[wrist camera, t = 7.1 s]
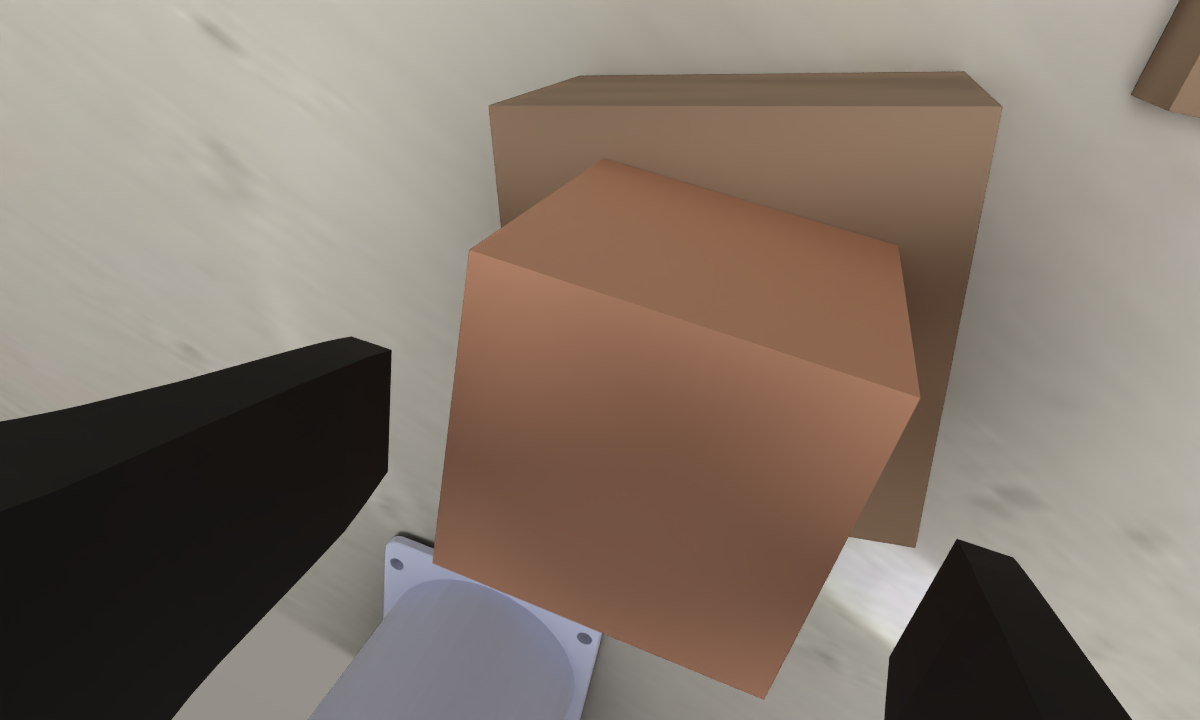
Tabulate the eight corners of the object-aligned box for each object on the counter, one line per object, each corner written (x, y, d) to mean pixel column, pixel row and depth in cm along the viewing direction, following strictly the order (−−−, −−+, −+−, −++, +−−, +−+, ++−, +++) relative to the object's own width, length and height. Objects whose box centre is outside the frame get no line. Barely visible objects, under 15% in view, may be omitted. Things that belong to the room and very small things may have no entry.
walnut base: (903, 415, 18) (915, 547, 14) (597, 379, 20) (528, 483, 16) (962, 70, 14) (1002, 106, 10) (583, 74, 17) (488, 105, 13)
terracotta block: (792, 483, 14) (764, 700, 10) (554, 398, 15) (432, 563, 11) (898, 245, 12) (920, 397, 7) (603, 158, 12) (469, 249, 8)
